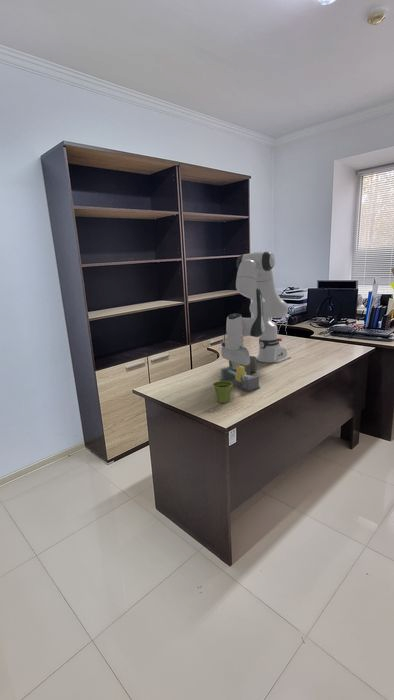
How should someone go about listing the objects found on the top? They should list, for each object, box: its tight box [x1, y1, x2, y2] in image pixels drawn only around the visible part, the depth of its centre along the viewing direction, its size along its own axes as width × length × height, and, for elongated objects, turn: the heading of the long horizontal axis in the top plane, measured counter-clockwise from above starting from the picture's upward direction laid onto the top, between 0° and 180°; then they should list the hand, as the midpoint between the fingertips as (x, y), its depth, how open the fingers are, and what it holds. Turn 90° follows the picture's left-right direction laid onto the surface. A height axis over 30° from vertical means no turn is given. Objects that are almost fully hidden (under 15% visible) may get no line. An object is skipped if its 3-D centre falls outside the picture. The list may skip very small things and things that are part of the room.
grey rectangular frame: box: [219, 366, 261, 393], centre depth 186 cm, size 23×9×6 cm, turn 33°
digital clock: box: [228, 355, 258, 375], centre depth 203 cm, size 16×9×11 cm, turn 65°
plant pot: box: [212, 380, 233, 404], centre depth 166 cm, size 9×9×9 cm
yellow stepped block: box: [234, 365, 246, 382], centre depth 184 cm, size 4×4×7 cm
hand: (235, 369), depth 187 cm, fingers closed
